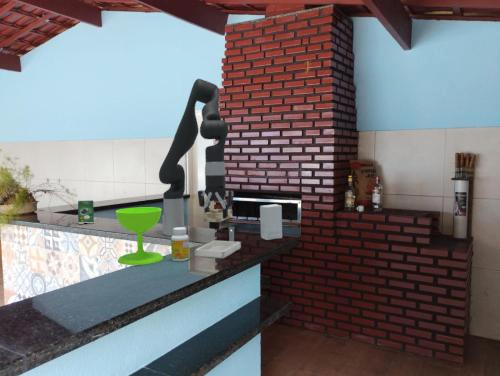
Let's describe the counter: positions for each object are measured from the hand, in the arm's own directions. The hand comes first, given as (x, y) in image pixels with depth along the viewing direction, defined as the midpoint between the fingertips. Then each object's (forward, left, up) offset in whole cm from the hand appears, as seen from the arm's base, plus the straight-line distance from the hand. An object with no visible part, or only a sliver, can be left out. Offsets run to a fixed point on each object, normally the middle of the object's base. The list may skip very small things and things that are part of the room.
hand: (216, 218), depth 159 cm
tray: (0, +2, -14) cm, 14 cm away
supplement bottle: (-9, -12, -14) cm, 20 cm away
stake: (-1, +18, -14) cm, 22 cm away
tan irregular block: (0, +2, -1) cm, 2 cm away
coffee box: (-99, +45, -14) cm, 110 cm away
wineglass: (-23, -16, -14) cm, 31 cm away
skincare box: (+12, +33, -14) cm, 38 cm away
